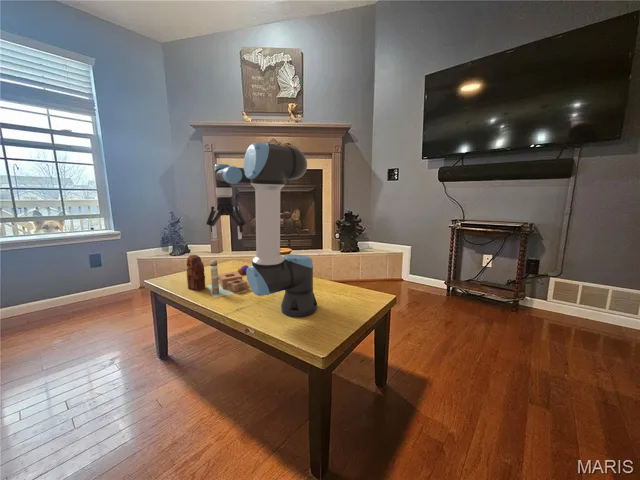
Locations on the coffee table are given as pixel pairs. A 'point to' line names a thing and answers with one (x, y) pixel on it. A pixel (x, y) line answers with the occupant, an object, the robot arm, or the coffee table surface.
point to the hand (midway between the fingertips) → (227, 238)
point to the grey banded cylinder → (214, 277)
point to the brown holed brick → (237, 285)
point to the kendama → (242, 270)
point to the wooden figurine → (195, 273)
